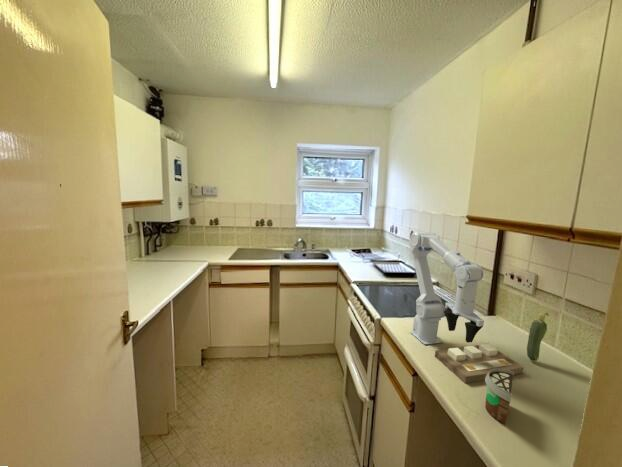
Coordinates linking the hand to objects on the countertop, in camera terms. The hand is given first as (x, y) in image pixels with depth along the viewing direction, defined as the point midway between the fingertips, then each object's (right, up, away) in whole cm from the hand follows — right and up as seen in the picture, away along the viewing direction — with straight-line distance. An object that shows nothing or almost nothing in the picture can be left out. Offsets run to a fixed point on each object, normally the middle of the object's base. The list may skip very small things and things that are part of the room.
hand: (459, 335), depth 95 cm
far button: (+13, -8, +5) cm, 16 cm away
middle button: (+6, -8, +3) cm, 11 cm away
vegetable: (+29, -12, +6) cm, 32 cm away
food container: (0, -14, -18) cm, 23 cm away
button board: (+7, -11, +1) cm, 13 cm away
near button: (-1, -8, +2) cm, 8 cm away
